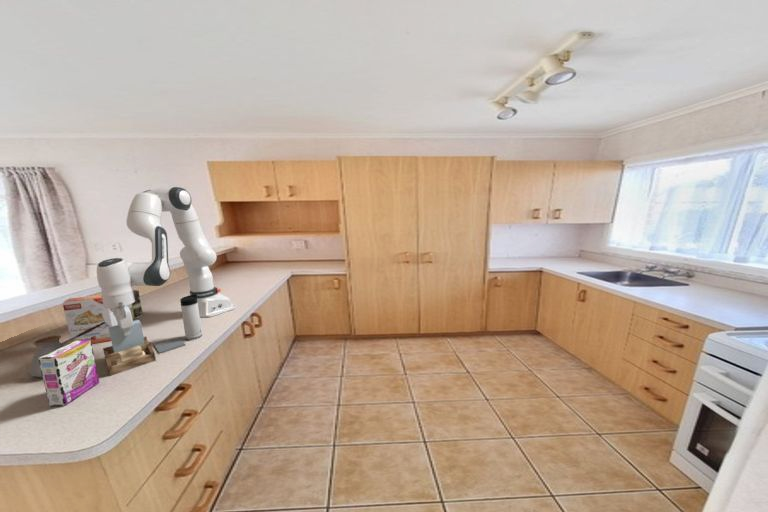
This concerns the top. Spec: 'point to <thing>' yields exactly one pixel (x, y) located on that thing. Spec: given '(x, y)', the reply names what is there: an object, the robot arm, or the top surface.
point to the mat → (169, 345)
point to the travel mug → (191, 317)
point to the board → (126, 337)
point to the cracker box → (88, 318)
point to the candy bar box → (69, 372)
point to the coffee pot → (50, 349)
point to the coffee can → (136, 306)
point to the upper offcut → (130, 353)
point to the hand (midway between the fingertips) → (126, 332)
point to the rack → (127, 365)
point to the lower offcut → (130, 359)
